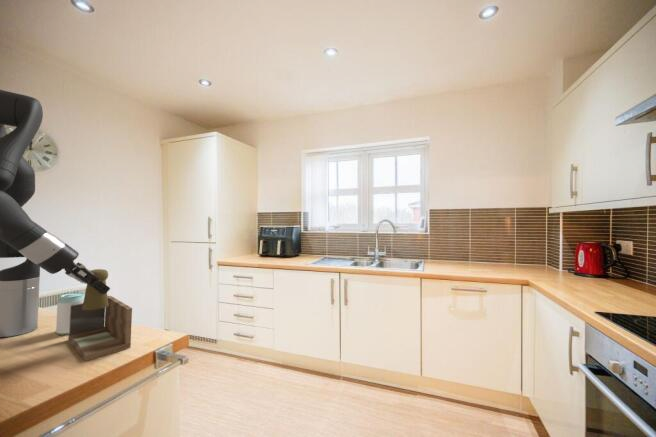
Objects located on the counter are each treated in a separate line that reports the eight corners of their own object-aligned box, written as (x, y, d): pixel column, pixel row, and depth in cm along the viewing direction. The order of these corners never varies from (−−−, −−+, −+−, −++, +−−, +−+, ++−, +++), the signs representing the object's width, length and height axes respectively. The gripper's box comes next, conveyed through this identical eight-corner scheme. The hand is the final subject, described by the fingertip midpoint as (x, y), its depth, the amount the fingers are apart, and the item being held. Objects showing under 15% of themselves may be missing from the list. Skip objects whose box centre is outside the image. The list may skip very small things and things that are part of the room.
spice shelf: (68, 339, 83) (69, 302, 83) (109, 330, 91) (110, 295, 91) (85, 361, 71) (87, 316, 71) (130, 347, 79) (132, 308, 79)
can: (59, 337, 84) (61, 298, 84) (53, 332, 88) (54, 295, 88) (88, 330, 90) (90, 294, 90) (81, 325, 94) (82, 290, 94)
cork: (83, 311, 76) (84, 272, 76) (80, 307, 80) (82, 269, 80) (110, 307, 80) (112, 269, 80) (106, 303, 84) (108, 267, 85)
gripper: (70, 243, 70) (123, 283, 80) (58, 240, 79) (108, 276, 88) (39, 266, 66) (99, 305, 75) (30, 260, 74) (86, 296, 84)
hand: (104, 289), depth 82 cm, fingers closed on cork, 4 cm apart
